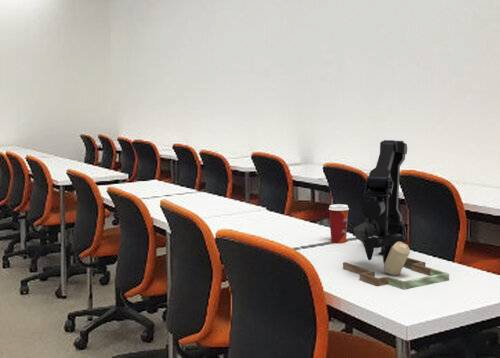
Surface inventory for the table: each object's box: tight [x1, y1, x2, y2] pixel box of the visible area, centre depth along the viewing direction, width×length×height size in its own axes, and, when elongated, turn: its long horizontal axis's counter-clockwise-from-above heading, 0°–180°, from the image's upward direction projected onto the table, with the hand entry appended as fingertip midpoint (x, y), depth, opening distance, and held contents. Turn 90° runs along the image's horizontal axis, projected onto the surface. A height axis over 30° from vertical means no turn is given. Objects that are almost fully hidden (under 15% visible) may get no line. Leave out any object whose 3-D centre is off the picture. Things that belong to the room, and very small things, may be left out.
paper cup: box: [328, 203, 350, 244], centre depth 247 cm, size 8×8×14 cm
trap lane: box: [342, 256, 450, 290], centre depth 200 cm, size 26×28×2 cm
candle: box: [382, 242, 411, 276], centre depth 198 cm, size 6×6×10 cm
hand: (377, 262), depth 206 cm, fingers open, 7 cm apart
